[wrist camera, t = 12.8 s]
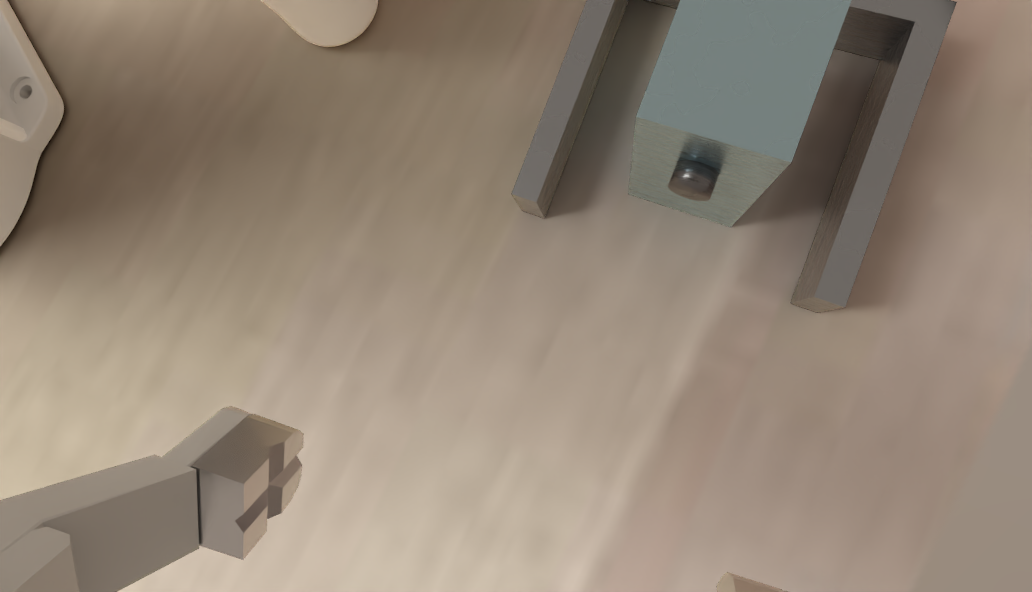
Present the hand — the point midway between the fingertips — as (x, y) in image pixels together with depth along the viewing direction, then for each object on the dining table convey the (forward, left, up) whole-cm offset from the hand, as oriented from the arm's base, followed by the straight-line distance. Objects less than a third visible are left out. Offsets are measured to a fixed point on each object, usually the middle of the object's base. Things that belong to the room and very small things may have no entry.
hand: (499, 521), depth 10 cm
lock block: (-9, +11, -16) cm, 22 cm away
